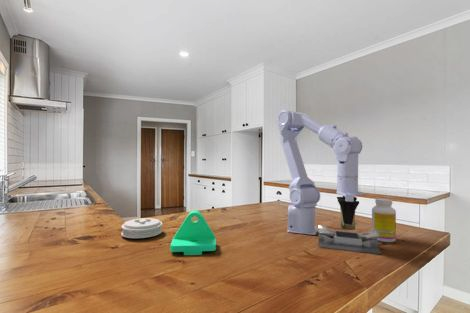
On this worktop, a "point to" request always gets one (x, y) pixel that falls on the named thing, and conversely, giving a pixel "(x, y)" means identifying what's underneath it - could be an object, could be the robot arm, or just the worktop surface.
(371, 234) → the shaft stand
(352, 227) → the coupling
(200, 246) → the camera mount
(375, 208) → the supplement bottle
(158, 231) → the lid
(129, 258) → the worktop surface
